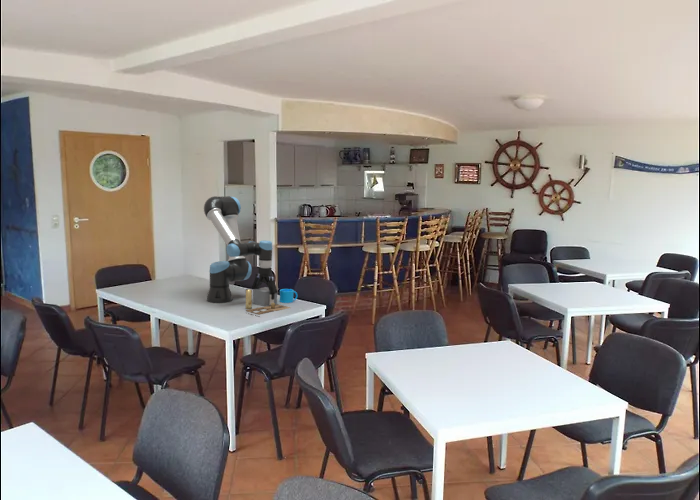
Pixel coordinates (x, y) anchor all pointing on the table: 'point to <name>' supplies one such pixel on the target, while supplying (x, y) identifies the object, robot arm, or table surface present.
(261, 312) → the build board
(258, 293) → the block
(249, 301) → the peg
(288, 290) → the mug
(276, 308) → the board
